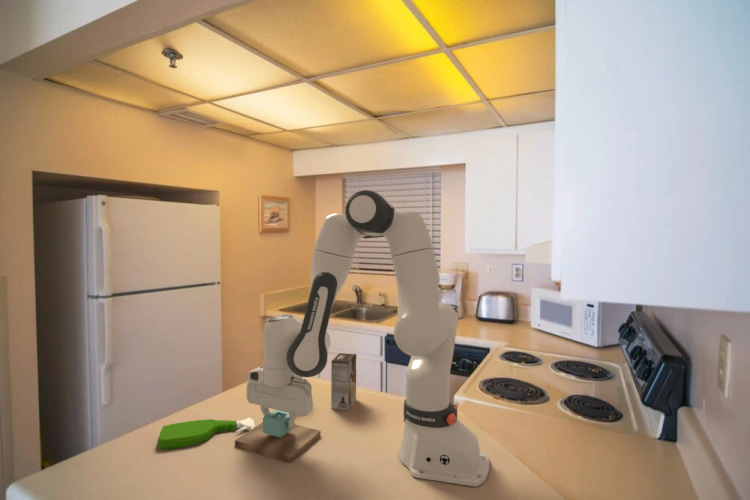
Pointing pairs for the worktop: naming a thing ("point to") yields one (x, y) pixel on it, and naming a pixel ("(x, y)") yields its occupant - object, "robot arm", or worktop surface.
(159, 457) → the worktop surface
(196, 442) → the spray bottle
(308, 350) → the robot arm
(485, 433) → the worktop surface
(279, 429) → the teal square ring
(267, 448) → the walnut board
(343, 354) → the coffee box
